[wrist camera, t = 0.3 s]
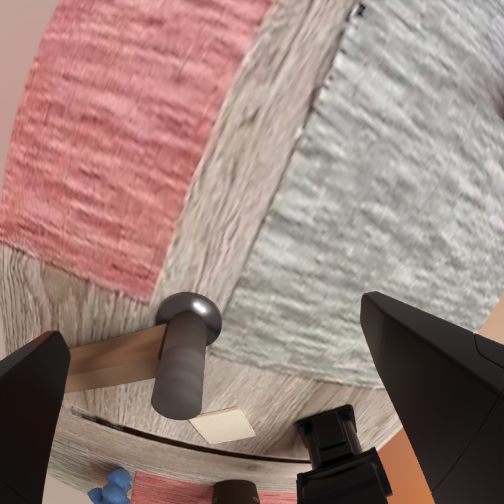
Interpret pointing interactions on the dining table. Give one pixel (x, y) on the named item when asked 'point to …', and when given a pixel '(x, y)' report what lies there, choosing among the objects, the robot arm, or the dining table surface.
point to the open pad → (223, 426)
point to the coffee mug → (235, 492)
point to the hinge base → (195, 305)
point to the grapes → (113, 489)
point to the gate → (149, 364)
